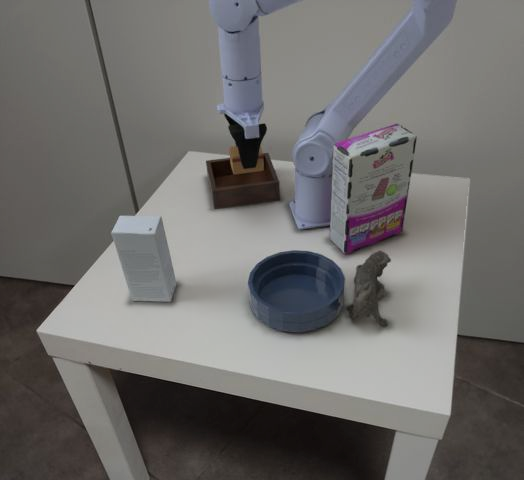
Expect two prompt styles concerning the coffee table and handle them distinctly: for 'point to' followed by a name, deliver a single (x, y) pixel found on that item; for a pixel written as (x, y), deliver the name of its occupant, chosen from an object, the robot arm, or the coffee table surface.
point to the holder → (241, 184)
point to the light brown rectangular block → (237, 164)
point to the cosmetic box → (145, 257)
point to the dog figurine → (369, 287)
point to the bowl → (296, 290)
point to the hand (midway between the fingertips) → (247, 160)
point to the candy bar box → (370, 187)
